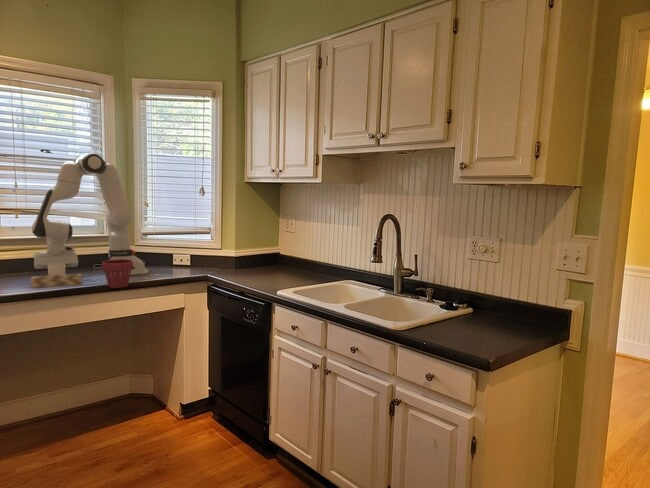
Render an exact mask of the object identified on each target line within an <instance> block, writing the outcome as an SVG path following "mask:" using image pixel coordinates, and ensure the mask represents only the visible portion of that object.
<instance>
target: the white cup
mask: <svg viewBox="0 0 650 488" xmlns="http://www.w3.org/2000/svg"><path fill="white" fill-rule="evenodd" d="M47 272H48V274H47V275H48V276H55V275H66V267H65V264H64V263H52V264H48V268H47Z"/></svg>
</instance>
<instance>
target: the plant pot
mask: <svg viewBox="0 0 650 488" xmlns="http://www.w3.org/2000/svg"><path fill="white" fill-rule="evenodd" d="M101 267H102V270H103V271H104V274H105V279H106V281H107V284H108V287H109V288H111V289H112V288H116V289H119V288H124V287H127V286H129V283H130V282H129V281H130V277H131V275H130V273H131V269H132V268H133V261H132V260H127V259H116V260H109V259H108V260H104V261H102V262H101Z"/></svg>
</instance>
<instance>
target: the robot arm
mask: <svg viewBox="0 0 650 488" xmlns="http://www.w3.org/2000/svg"><path fill="white" fill-rule="evenodd" d="M93 174H94V175H95V176H96V177H97V179H98V182H99V183H98V184H99V187H100V192H101V194H102V199H103V200H104V203H105V204H106V207H107V211H106V212H105V213H106V215H105V219H106V225H107V230H108V231H107V232H108V239H109V241H108V245H109V249H108V260H116V259H127V260H132V261H133V268H132V269H131V273H130V276H132V275H133V276H134V275H143V274H148V273H149V272H150V271H149V269H147V268H146V267H145V263H144V261H142V260H141V259H140V258H138V257H137V256H136V255H135V254H136V250H134V249H132V248H131V235H130V231H129V224H131V222H132V220H133V214H132V211H131V209H130V206H129V203H128V201H127V198H126V196H125V193H124V188H123V187H122V182H121V178H120V175H119V173H118V169H116V166H115V165H114V164H112V163H108V162H106V161H105V160H104V159H103V158H102V156H100V154H98V153H95V152H88V153H84V154H82V155H78V156H77V157H76V159H74V161H65V162H64V163H62V165H61V166H60V168H59V172H58V176H57V179H56V183H55V185H54V186H53V187H52V188H49V190H48V191H47V192H46V194H45V196H44V199H43V201H42V203H41V206H40V208H39V211H38V214H37V216H36V219H35V220H34V222H33V223H32V228H31V232H32V234H33V235H34V236H35V237H36V238H39V239H46V244H47V245H46V251H45V252H36V253H34V254H33V257H32V258H33V259H34V260H33V267H34V269H36V270H37V269H39V270H40V269H48V264H52V263H64V264H65V268H75V267H78V265H79V259H78V254H77V253H76V249H75V248H74V247H71V246H67V245H65V244H66V243H68V242H69V241H70V240H71V239H72V237H73V232H74V231H73V226H72V225H71V224H70V223H69V222H66V221H60V220H54V219H48V215H49V213H50V210H51V208H52V205H53V204H54V203H56V202H59V201H63V200H65V201H66V200H70V199H73V198H75V197H76V196H77V195H78V194H79V191H80V188H81V181H82V178H83V177H84V175H93Z"/></svg>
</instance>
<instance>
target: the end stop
mask: <svg viewBox="0 0 650 488" xmlns="http://www.w3.org/2000/svg"><path fill="white" fill-rule="evenodd" d="M82 274H83V273H77V274H74V273H73V274H65V275H55V276H49V275H39V276H31V277H30V281H31V283H30V284H31V285H30V286H31V289H32V288H35V289H36V288H45V287H47V288H48V287H61V286H76V285H77V286H78V285H83V278H82V277H83V275H82Z"/></svg>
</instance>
